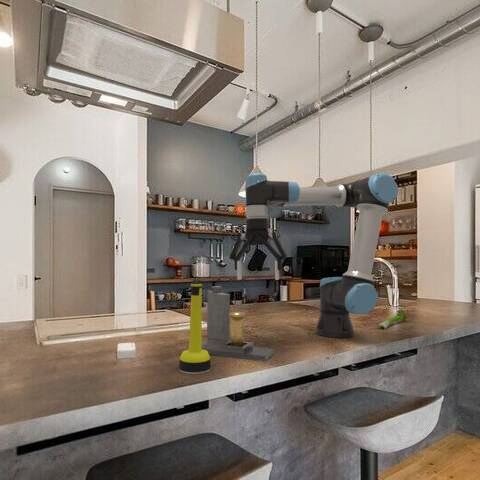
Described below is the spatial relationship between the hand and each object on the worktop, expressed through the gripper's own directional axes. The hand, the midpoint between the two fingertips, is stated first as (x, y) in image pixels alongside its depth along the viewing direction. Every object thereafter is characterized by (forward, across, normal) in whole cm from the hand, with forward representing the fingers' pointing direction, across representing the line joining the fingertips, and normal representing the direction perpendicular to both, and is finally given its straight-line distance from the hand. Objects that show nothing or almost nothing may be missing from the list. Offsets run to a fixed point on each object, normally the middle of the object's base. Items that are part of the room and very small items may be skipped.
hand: (258, 279), depth 124 cm
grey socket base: (+23, +5, +10) cm, 26 cm away
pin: (+23, +5, +10) cm, 26 cm away
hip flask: (+23, +18, -5) cm, 30 cm away
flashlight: (+23, +10, +29) cm, 38 cm away
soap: (+22, +36, +25) cm, 49 cm away
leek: (+27, -47, -65) cm, 85 cm away
